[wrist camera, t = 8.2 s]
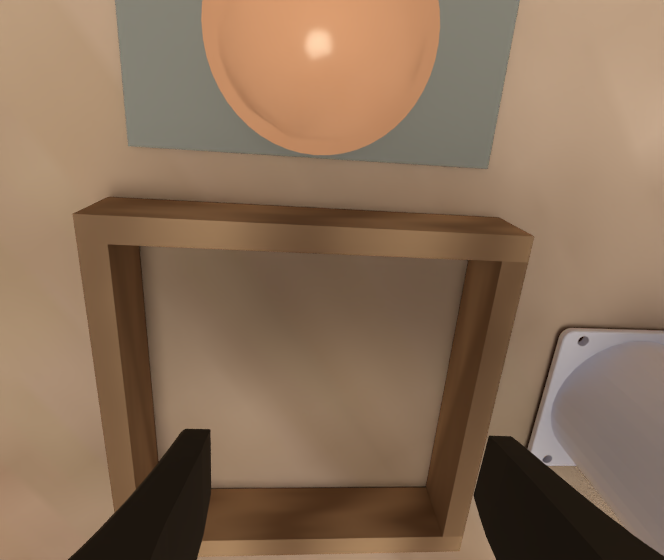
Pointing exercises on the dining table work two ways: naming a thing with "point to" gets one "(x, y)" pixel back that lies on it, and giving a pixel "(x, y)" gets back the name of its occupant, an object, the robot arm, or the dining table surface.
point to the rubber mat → (237, 137)
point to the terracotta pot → (321, 66)
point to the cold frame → (324, 238)
